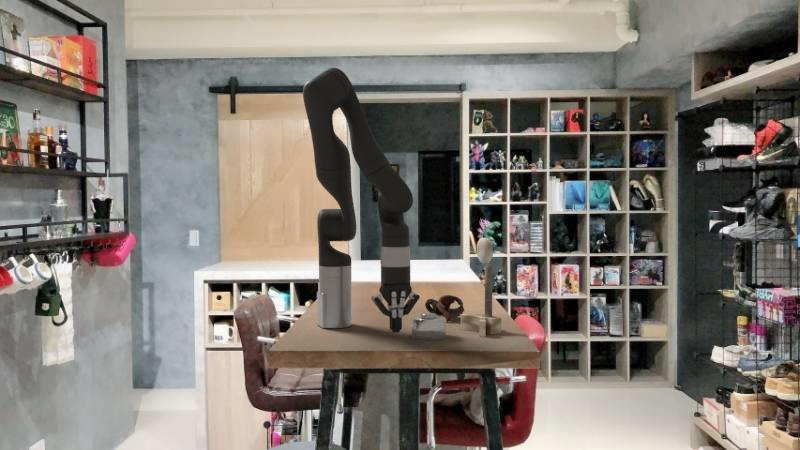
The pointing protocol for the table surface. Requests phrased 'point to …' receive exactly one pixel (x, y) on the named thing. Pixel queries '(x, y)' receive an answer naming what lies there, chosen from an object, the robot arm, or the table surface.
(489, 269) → the wooden display stand
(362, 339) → the table surface
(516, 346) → the table surface
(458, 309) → the pottery mug
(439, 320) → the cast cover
